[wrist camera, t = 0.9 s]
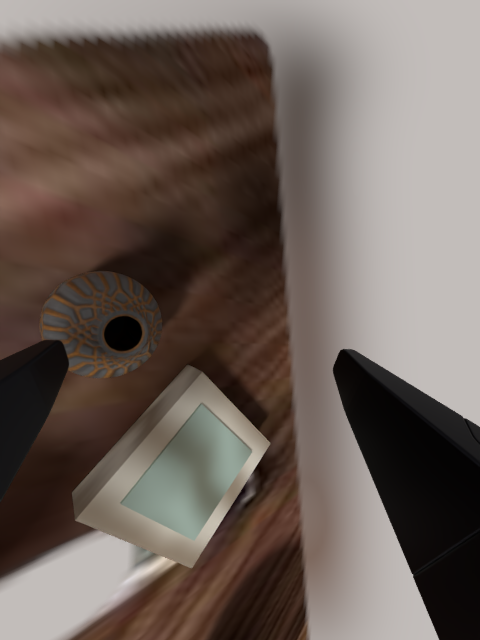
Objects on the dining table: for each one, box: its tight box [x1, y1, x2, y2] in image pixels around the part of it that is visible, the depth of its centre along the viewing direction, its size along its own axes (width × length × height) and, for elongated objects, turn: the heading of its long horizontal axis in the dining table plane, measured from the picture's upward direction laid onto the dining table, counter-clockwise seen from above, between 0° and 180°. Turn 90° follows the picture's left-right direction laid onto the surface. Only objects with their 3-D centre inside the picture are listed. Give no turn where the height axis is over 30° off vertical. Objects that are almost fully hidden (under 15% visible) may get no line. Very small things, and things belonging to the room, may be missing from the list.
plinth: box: [72, 364, 270, 568], centre depth 24 cm, size 13×13×3 cm
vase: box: [40, 271, 162, 378], centre depth 16 cm, size 7×7×9 cm
